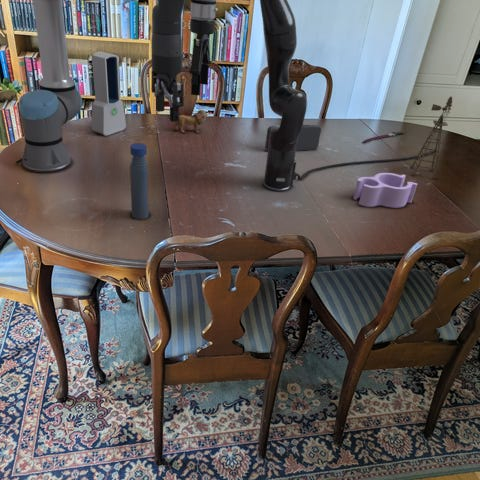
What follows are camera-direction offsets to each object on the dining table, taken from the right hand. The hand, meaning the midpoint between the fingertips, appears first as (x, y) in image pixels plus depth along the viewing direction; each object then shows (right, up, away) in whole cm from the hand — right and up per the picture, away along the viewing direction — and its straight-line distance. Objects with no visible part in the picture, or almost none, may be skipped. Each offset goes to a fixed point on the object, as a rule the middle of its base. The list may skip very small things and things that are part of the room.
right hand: (167, 116), depth 124 cm
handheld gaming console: (+41, +4, +67) cm, 79 cm away
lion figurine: (-2, +13, +75) cm, 76 cm away
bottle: (-10, -26, +13) cm, 30 cm away
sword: (+86, +14, +90) cm, 125 cm away
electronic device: (-34, +12, +66) cm, 75 cm away
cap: (-8, -8, +1) cm, 11 cm away
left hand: (+6, +16, +29) cm, 34 cm away
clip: (+68, -19, +36) cm, 79 cm away
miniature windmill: (+91, -7, +59) cm, 109 cm away
